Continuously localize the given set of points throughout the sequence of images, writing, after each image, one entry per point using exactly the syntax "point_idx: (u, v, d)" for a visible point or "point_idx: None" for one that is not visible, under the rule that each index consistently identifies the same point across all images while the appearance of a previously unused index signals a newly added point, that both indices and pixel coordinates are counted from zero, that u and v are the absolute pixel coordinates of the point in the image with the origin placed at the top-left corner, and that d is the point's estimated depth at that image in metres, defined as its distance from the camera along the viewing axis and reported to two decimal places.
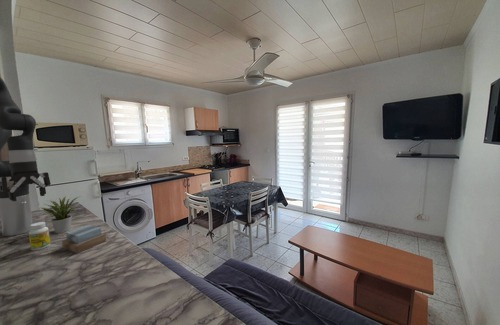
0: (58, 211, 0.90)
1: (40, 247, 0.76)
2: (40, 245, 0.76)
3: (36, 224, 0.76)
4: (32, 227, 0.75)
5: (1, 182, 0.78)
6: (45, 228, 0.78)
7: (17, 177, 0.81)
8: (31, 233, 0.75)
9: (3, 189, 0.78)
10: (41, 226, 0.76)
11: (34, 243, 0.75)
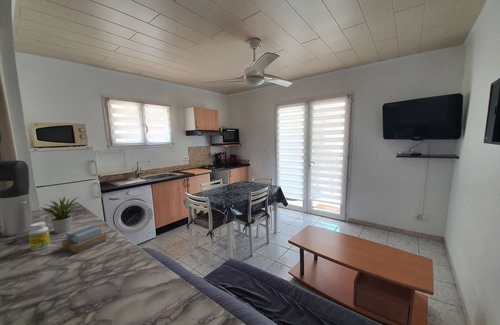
0: (58, 211, 0.90)
1: (40, 247, 0.76)
2: (40, 245, 0.76)
3: (36, 224, 0.76)
4: (32, 227, 0.75)
5: None
6: (45, 228, 0.78)
7: None
8: (31, 233, 0.75)
9: None
10: (41, 226, 0.76)
11: (34, 243, 0.75)
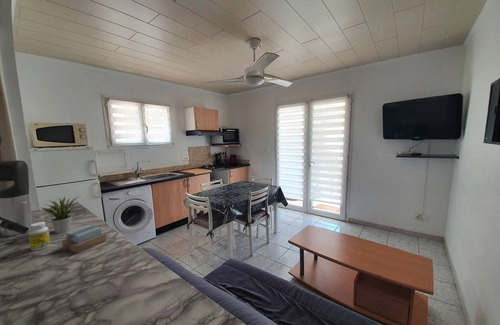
0: (58, 211, 0.90)
1: (40, 247, 0.76)
2: (40, 245, 0.76)
3: (36, 224, 0.76)
4: (32, 227, 0.75)
5: None
6: (45, 228, 0.78)
7: None
8: (31, 233, 0.75)
9: None
10: (41, 226, 0.76)
11: (34, 243, 0.75)
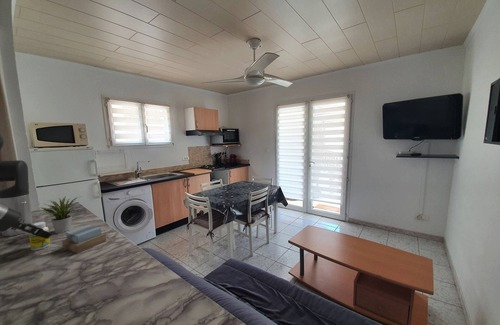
0: (58, 211, 0.90)
1: (40, 247, 0.76)
2: (40, 245, 0.76)
3: (36, 224, 0.76)
4: None
5: None
6: (45, 228, 0.78)
7: None
8: None
9: None
10: (41, 226, 0.76)
11: (34, 243, 0.75)
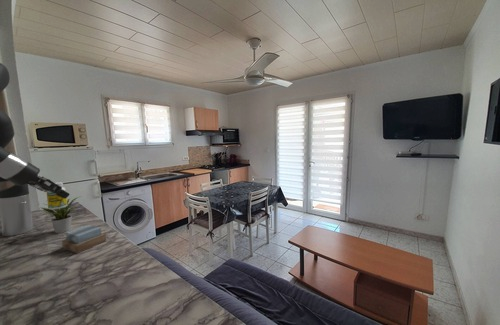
0: (58, 211, 0.90)
1: (58, 206, 0.75)
2: (58, 204, 0.74)
3: None
4: None
5: None
6: (63, 188, 0.76)
7: (29, 182, 0.71)
8: (49, 191, 0.73)
9: None
10: (59, 185, 0.75)
11: (52, 201, 0.74)
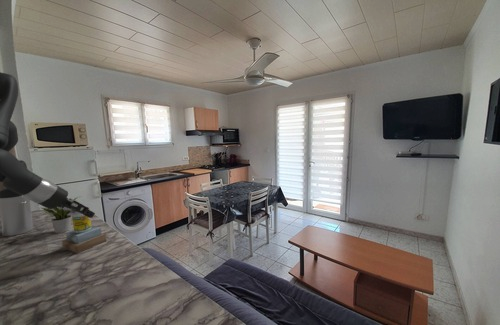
0: (58, 211, 0.90)
1: (83, 230, 0.77)
2: (83, 228, 0.77)
3: None
4: None
5: None
6: None
7: None
8: (75, 216, 0.76)
9: None
10: None
11: (77, 225, 0.76)
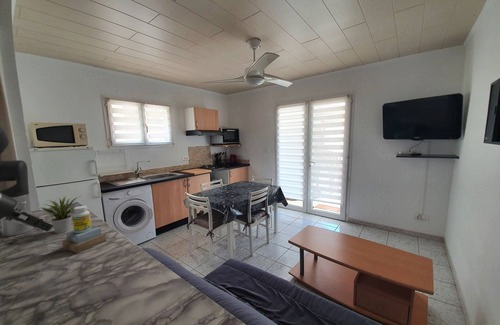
0: (58, 211, 0.90)
1: (83, 230, 0.77)
2: (83, 228, 0.77)
3: (79, 207, 0.78)
4: (76, 210, 0.76)
5: None
6: (87, 211, 0.79)
7: None
8: (75, 216, 0.76)
9: None
10: (84, 210, 0.78)
11: (77, 225, 0.76)
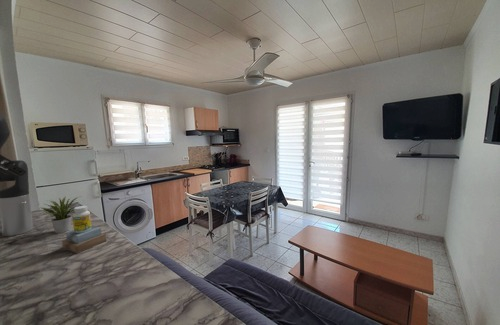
0: (58, 211, 0.90)
1: (83, 230, 0.77)
2: (83, 228, 0.77)
3: (79, 207, 0.78)
4: (76, 210, 0.76)
5: None
6: (87, 212, 0.79)
7: None
8: (75, 216, 0.76)
9: None
10: (84, 210, 0.78)
11: (77, 225, 0.76)
